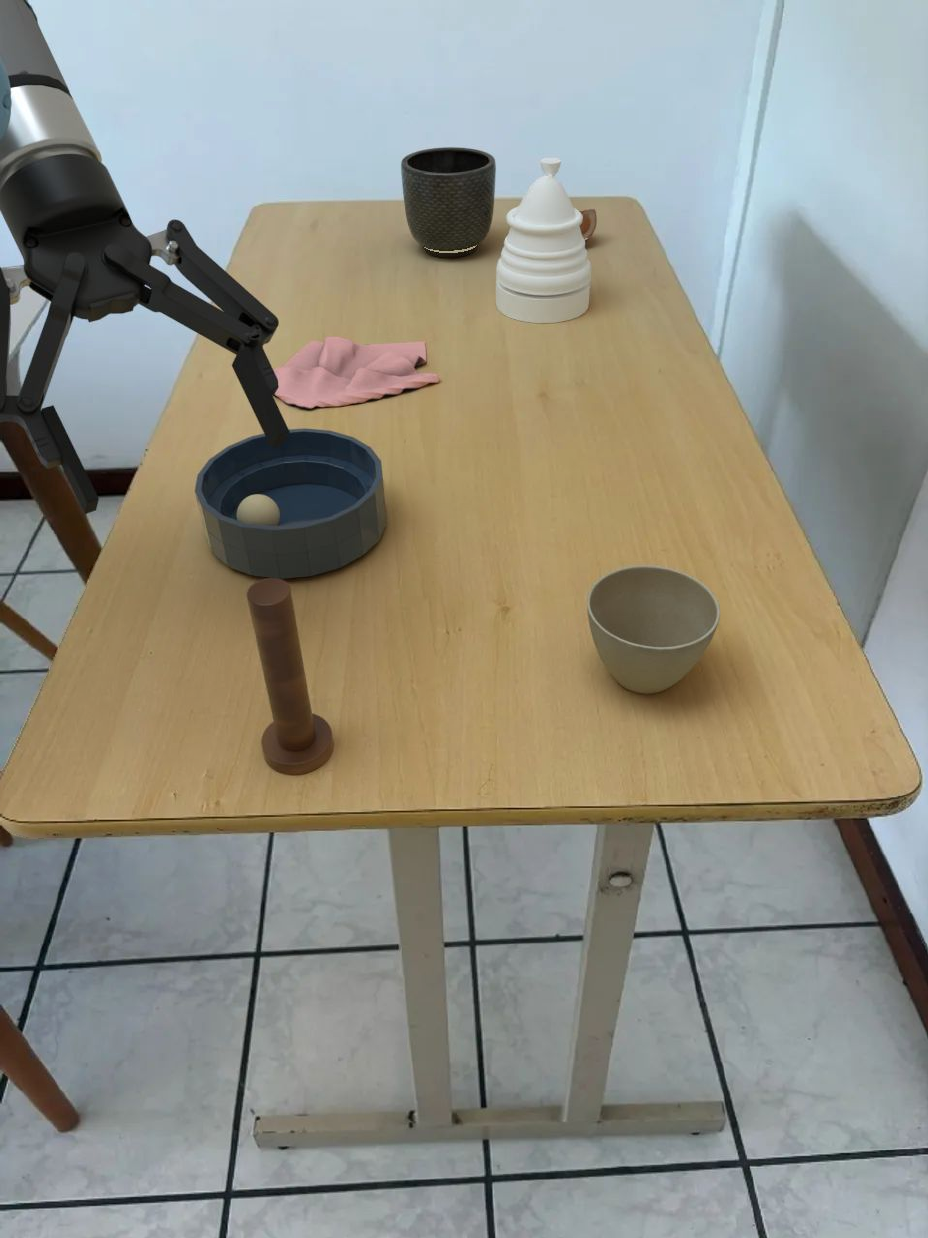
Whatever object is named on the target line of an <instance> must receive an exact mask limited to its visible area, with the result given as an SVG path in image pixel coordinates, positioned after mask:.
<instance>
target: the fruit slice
mask: <svg viewBox="0 0 928 1238" xmlns="http://www.w3.org/2000/svg"><path fill="white" fill-rule="evenodd" d="M579 211H580V213H581V214H582V216H583V220H582V223H581V224H580V225H579V226H580V230H581V233H582V237H583V238H584V239H585V238H589V237H590V236H591V237H592V235H593V234H594V232H595V231H596V228H597V222H598V221H597V218H598V217H597V212H596V209H594V208H593V209H592V208H590V209H584V210H579ZM591 237H590V238H591ZM590 238H589V239H590Z"/></svg>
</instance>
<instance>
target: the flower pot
mask: <svg viewBox="0 0 928 1238" xmlns="http://www.w3.org/2000/svg"><path fill="white" fill-rule="evenodd" d="M586 609H587V610H586V611H587V617H588V618H587V620H588V624H589V629H590V630H589V631H590V633H591V637H592V640H593V644H594V646H595V649H596V651H597V654H598V655H599V657H600V660H601V662H602V663H603V665H604V667H605V668H606V669H607V671H608V672H609V674H610V675H611V676H612V677H613V679H614V680H615V682H617V683H618V684H619V685H620V686H621V687H623V688H624V689H626V690H628V691H630V692H633V693H637V694H646V695H648V694H658V693H661V692H663V691H665V690H667V689H669V688H671V687H672V686H674V685H675V684H677V683H678V682H679V681H680V680H681V679H683V678H684V677H685V676H686V675H687V674H688V673H689V672H690V671H691V670H692V669H693V668H694V667H695V665H696V664H697V663H698V662H699V660H700V659H701V658H702V656H703V655H704V653H705V652H706V650H707V649H708V647H709V645H710V644H711V641H712V640H713V638H714V635H715V633H716V631H717V628H718V626H719V623H720V619H721V607H720V603H719V599H717V596H716V595H715V593H714V592H713V591H712V590H711V589H710V588H709V587H708V586H707V585H705V584H704V583H703V582H702V581H700V580H698V579H697V578H695V577H693V576H692V575H690V574H687V573H686V572H683V571H681V570H677V569H675V568H671V567H665V566H660V565H649V564H642V565H641V564H640V565H630V566H625V567H621V568H617V569H614V570H611V571H609V572H607V573H606V574H603V576H600V578H599V579H597V580H596V581H595V582H594V583H593V585H592V586H591V587H590V589H589V591H588V594H587V598H586Z"/></svg>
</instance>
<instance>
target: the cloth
mask: <svg viewBox="0 0 928 1238" xmlns="http://www.w3.org/2000/svg"><path fill="white" fill-rule="evenodd" d="M425 363H427V349H426V341H409V342H408V341H407V342H406V341H405V342H392V343H391V342H390V343H374V344H359V343H358V342H355V341H352V340H351V339H348V338H344V337H341V336H325V338H324V341H318V340H317V341H316V340H311V341H309V342H308V343H307V344H305V345H304V346H303V347H302V348H301V349H300V350H299V351H297V353H295V354H294V355H293V356H292V357H290V359H288V361H286V362H285V363H284V364H283V365H281V366H278V367H276V368H273V370H274V373H275V375H276V377H277V379H278V385H279V388H278V389H277V391H276V393H275V394H274V395H273V396H276V397H277V398H278V399H280V400H281V401H282V402H283V403H284V404H287V405H295V406H297V407H298V408H301V409H307V410H312V409H313V408H315V407H317V408H332V407H343V406H349V405H352V404H362V403H366V402H368V401H371V400H380V399H383V398H386V397H388V396H391V395H393V396H394V395H395V396H396V395H401V394H403V393H405V392H407V391H410V390H413V389H421V388H424V387H426V386H427V385H428V384H434V383H435V384H437V383H439V381H440V380H439V379H440V378H439V377H440V376H439V375H438V374H435V373H432V372H423V373H420V372H418V371H417V370H416V368H415V367H419V366H421V365H423V364H425Z"/></svg>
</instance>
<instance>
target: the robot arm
mask: <svg viewBox="0 0 928 1238" xmlns="http://www.w3.org/2000/svg"><path fill="white" fill-rule="evenodd" d="M33 8H34V7H33V6H32V5H31V4H30V3H29V0H0V214H1V215H2V218H3V219H4V223H6V226H7V228H8V230H9V232H10V233H11V236H12V238H13V241H14V243H15V245H16V246H17V249H18V251H19V253H20V255H21V257H22V259H23V264H20V265H12V266H3V267H1V266H0V424H2V423H6V422H7V423H16V424H18V425H19V426H20V427H21V428H23V429H24V431H25V433H26V435H27V437H28V439H29V441H30V444H31V445H32V447H33V449H34V452H35V453H36V456H37V458H38V460H39V462H40V464H41V465H43V467H44V468H46V469H47V470H49V469H52V468H55V467H58V466H60V467H61V468H62V471H63V473H64V474H65V476H66V478H67V481H68V482H69V485H70V487H71V489H72V491H73V493H74V495H75V497H76V499H77V501H78V503H79V505H80V507H81V509H82V511H83V514H84V515H87V514H90V513H92V512H95V511H97V508H98V505H99V499H100V498H99V496H98V494H97V492H96V490H95V488H94V486H93V484H92V481H91V479H90V478H89V476H88V473H87V471H86V469H85V467H84V465H83V463H82V461H81V459H80V457H79V455H78V453H77V450H76V448H75V446H74V445H73V442H72V440H71V439H70V436H69V434H68V432H67V430H66V428H65V426H64V423H63V422H62V420H61V418H60V416H59V413H58V412H57V409H56V407H55V405H53V404H52V405H49V406H45V407H43V404H44V402H45V400H46V396H47V393H48V390H49V388H50V384H51V382H52V379H53V376H54V373H55V370H56V367H57V364H58V362H59V359H60V355H61V354H62V350H63V347H64V344H65V341H66V338H67V337H68V335H69V332H70V329H71V328H72V327H71V326H72V324H73V321H74V319H75V318H77V319H80V320H87V322H88V323H92V322H97V321H100V320H102V319H104V318H106V317H107V316H109V315H124V314H127V313H130V312H133V311H134V308H135V307H137V306H138V305H140V306H141V307H143V308H145V309H147V310H149V311H151V312H152V313H161V314H163V315H164V316H166V317H168V318H170V319H172V320H174V321H175V322H177V323H179V324H181V325H182V326H184V327H185V328H188V329H189V330H191V331H192V332H194V333H197V334H198V335H200V336H201V337H203V338H205V339H207V340H209V341H211V342H212V343H214V344H216V345H218V346H220V347H221V348H223V349H225V350H227V351H229V352H230V353H232V354H233V355H235V357H234V359H233V361H232V364H231V367H232V369H233V371H234V374H235V376H236V378H237V380H238V382H239V384H240V387H241V388H242V390H243V393H244V394H245V396H246V398H247V401H248V403H249V405H250V407H251V409H252V411H253V414H254V415H255V417H256V420H257V421H258V424H259V425H260V427H261V430H262V432H263V434H265V436H266V438H267V440H268V442H269V444H270V447H271V448H273V447H276V446H278V445H281V443H282V442H283V441H284V439H285V438H286V437H287V435H288V434H289V432H290V431H289V429H290V428H289V427H288V425H287V423H286V420H285V419H284V417H283V414H282V413H281V411H280V408H279V406H278V404H277V402H276V400H275V398H274V396H275V395H274V394H275V393H276V391H277V389H278V388H279V385H278V379H277V377H276V375H275V373H274V368H273V367H272V364H271V362H270V360H269V358H268V356H267V354H266V352H265V350H264V345H266V344H268V343H271V342H270V341H272V338H273V336H275V335H274V334H275V332H276V331H277V329H278V327H279V324H280V321H279V319H278V317H277V315H276V314H274V313H273V312H272V311H271V310H270V309H268V308H267V307H266V306H265V305H264V304H263V303H262V302H260V300H258V299H257V298H256V297H255V296H254V295H253V294H252V293H251V292H249V290H248V289H246V288H245V287H244V286H243V285H242V284H241V283H239V282H238V281H237V279H235V278H234V277H233V276H231V274H230V273H228V272H227V271H226V270H224V269H223V267H221V266H220V265H219V264H218V263H217V262H216V261H214V259H212V257H210V256H209V255H208V254H207V253H206V252H205V251H204V250H203V249H201V248H200V247H199V246H198V245H197V243H196V242H195V240H194V238H193V236H192V235H191V234H190V232H189V230H188V228H187V227H186V225H185V224H184V223H183V222H182V221H181V220H179V219H171V220H170V221H168V223H167V225H166V229H164V230H161V231H158V232H155V233H153V234H150V235H147V236H145V234H143V233H142V232H141V231H140V230H139V229H138V228H137V227H136V226H135V224H134V221H133V220H132V217H131V215H130V213H129V211H128V208H127V207H126V205H125V202H124V201H123V198H122V196H121V195H120V192H119V190H118V188H117V186H116V184H115V182H114V179H113V178H112V175H111V174H110V171H109V169H108V168H107V166H106V165H105V164H103V158H102V155H101V152H100V150H99V147H98V146H97V144H96V142H95V140H94V138H93V136H92V133H91V132H90V129H89V128H88V126H87V124H86V122H85V120H84V118H83V116H82V113H81V112H80V110H79V107H78V106H77V104H76V102H75V100H74V98H73V96H72V95H71V91H70V88H69V87H68V84H67V83H66V80H65V79H64V76H63V74H62V71H61V70H60V68H59V66H58V64H57V61H56V59H55V57H54V55H53V53H52V51H51V48H50V47H49V44H48V42H47V40H46V37H45V35H44V33H43V32H42V30H41V27H40V24H39V21H38V17H37V15H36V13H35V11H34V9H33ZM152 257H159V258H160V259H162V260H163V261H164V262H165V265H167V266H173V265H174V267H175V268H176V270H178V272H179V273H180V274H181V275H182V276H183V277H184V278H185V279H186V280H187V281H189V283H191V284H192V285H193V286H194V287H195V288H196V289H197V290H198V291H199V292H201V293H202V294H203V295H204V296H205V297H207V298H208V299H209V300H210V301H211V302H212V303H213V304H215V305H216V306H217V307H216V306H215V305H213V304H211V303H210V302H208V301H207V300H205V299H203V298H201V297H199V296H197V295H196V294H194V293H192V292H190V291H189V290H187V289H185V288H184V287H182V286H180V285H178V284H176V283H175V282H174V281H172V279H171V277H170V276H169V275H167V274H166V273H165V272H163V271H161V270H159V269H158V268H156V267H155V266H153V265H151V260H152ZM26 287H29V289H30V290H32V291H33V292H35V293H36V294H38V295H39V296H41V297H43V298H44V299H46V300H47V301H49V302H50V304H49V307H48V312H47V316H46V318H45V321H44V324H43V327H42V329H41V332H40V335H39V337H38V340H37V344H36V346H35V349H34V351H33V354H32V357H31V360H30V363H29V365H28V368H27V371H26V374H25V377H24V379H23V382H22V385H21V388H20V391H19V394H18V395H8V380H9V379H8V378H9V363H10V362H9V360H10V345H11V331H12V328H11V327H12V311H11V309H12V308H11V306H12V305H16V304H17V303H19V302H20V300H21V291H22V289H24V288H26ZM42 407H43V408H42Z"/></svg>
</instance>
